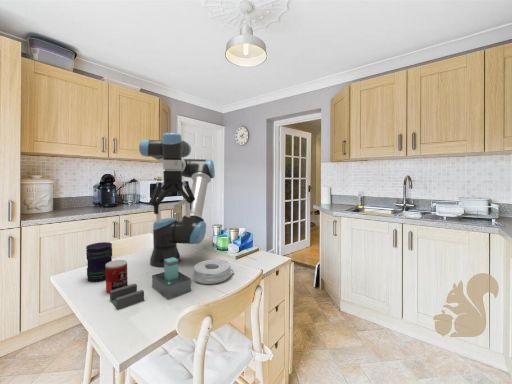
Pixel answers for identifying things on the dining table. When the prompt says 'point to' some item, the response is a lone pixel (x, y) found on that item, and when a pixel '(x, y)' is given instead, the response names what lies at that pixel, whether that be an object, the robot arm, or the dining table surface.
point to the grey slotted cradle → (126, 296)
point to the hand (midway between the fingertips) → (173, 219)
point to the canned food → (116, 275)
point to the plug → (171, 268)
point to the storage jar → (98, 260)
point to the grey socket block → (171, 285)
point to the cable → (212, 271)
